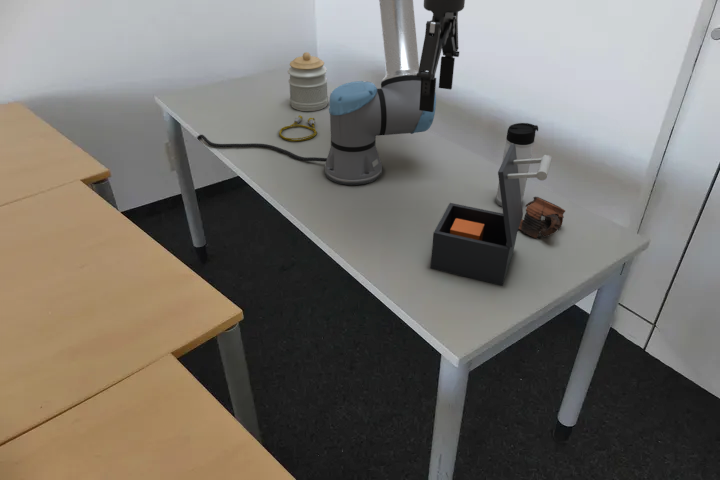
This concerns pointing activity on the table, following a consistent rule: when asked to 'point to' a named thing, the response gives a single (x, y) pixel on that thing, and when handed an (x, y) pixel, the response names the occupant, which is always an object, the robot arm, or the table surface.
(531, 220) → the pottery mug
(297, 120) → the extension cord
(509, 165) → the hinged box lid
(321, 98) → the jar
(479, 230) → the orange block
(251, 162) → the table surface
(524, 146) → the travel mug
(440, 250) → the open box
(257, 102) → the table surface
